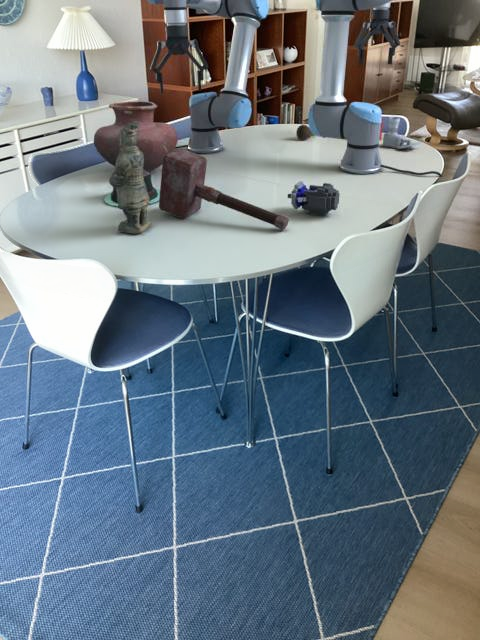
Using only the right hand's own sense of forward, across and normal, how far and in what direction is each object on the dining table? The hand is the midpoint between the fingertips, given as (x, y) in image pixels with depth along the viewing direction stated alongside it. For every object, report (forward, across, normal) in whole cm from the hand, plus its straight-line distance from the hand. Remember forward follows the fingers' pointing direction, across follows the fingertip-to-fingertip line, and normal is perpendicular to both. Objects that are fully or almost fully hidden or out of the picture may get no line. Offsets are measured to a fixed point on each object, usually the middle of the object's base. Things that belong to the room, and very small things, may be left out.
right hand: (375, 65), depth 241 cm
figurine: (+31, +23, -12) cm, 40 cm away
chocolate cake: (+31, +111, +58) cm, 129 cm away
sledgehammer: (+31, +86, +88) cm, 127 cm away
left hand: (+2, +89, +32) cm, 95 cm away
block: (+31, 0, 0) cm, 31 cm away
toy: (+31, +58, +89) cm, 111 cm away
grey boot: (+31, -5, +22) cm, 38 cm away
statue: (+31, +112, +88) cm, 146 cm away
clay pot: (+31, +107, +27) cm, 114 cm away
